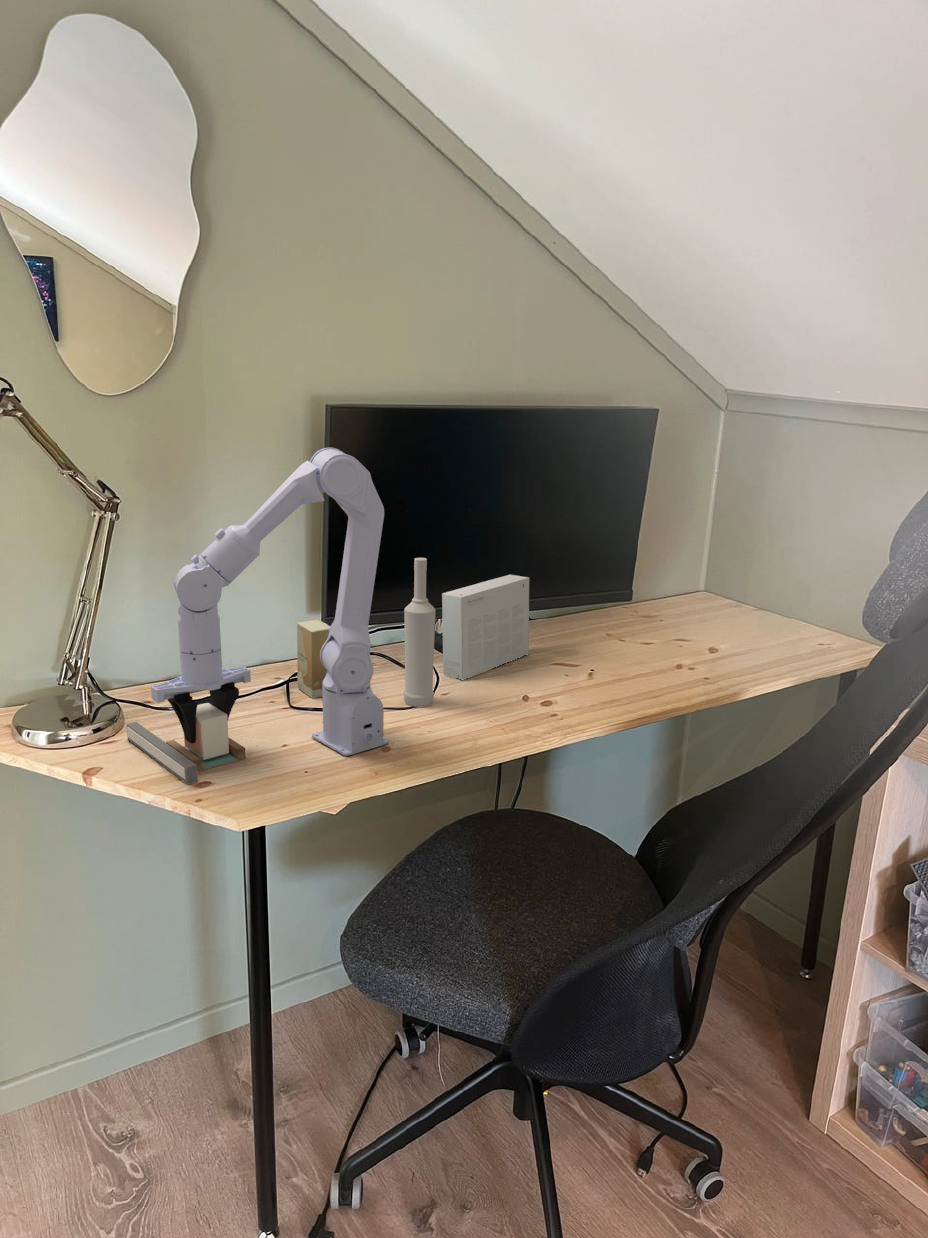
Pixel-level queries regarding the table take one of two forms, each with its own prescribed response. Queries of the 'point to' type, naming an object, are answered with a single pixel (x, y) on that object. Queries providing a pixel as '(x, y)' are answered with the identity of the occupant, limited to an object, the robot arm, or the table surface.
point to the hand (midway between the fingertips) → (205, 737)
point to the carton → (210, 732)
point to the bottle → (419, 642)
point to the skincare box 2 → (485, 625)
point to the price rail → (162, 753)
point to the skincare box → (311, 656)
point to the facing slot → (234, 754)
